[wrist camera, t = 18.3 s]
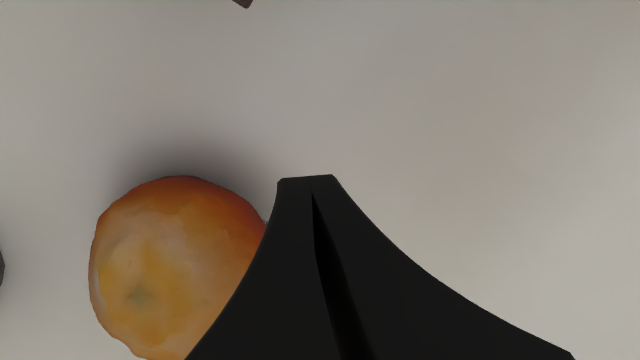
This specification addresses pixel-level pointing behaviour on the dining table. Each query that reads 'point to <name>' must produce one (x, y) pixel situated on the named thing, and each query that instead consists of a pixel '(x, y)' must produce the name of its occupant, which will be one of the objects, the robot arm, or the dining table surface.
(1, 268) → the thermos
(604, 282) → the dining table surface
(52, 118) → the dining table surface
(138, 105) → the dining table surface
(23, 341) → the dining table surface
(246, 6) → the cabinet
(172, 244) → the fruit
